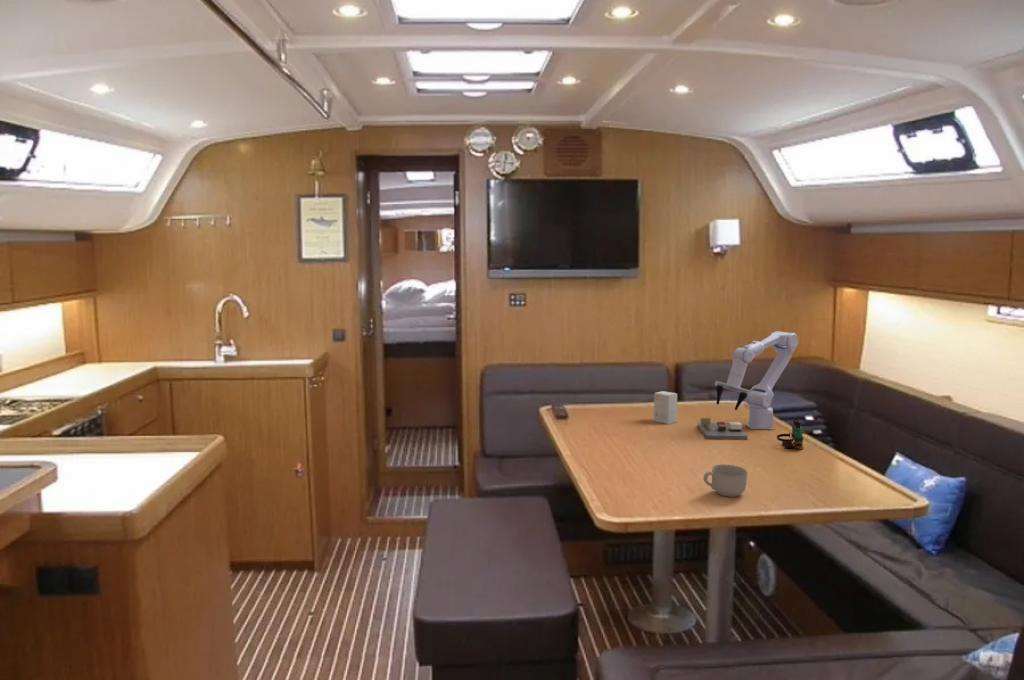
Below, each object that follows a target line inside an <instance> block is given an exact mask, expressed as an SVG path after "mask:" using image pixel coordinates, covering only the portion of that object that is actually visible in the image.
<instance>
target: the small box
mask: <svg viewBox="0 0 1024 680" xmlns="http://www.w3.org/2000/svg"><path fill="white" fill-rule="evenodd" d="M653 400H654V401H653V402H654V403H653V405H654V406H653V407H654V408H653V409H654V413H653V422H657V423H660V424H661V423H662V424H665V425H671V424H675V423H677V422H678V393H676V392H672V391H671V392H670V391H665V390H664V391H663V390H662V391H658V392H654V398H653Z"/></svg>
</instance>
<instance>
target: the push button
mask: <svg viewBox="0 0 1024 680" xmlns="http://www.w3.org/2000/svg"><path fill="white" fill-rule="evenodd" d="M728 423H729V428H730V429H742V430H743V424H742V423H741V422H740V421H728Z"/></svg>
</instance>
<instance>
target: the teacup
mask: <svg viewBox="0 0 1024 680" xmlns="http://www.w3.org/2000/svg"><path fill="white" fill-rule="evenodd" d="M711 470H712V471H706V472H705V473H704V474H703V481H704V483H705V484H706V485H707V486H709V487H711V489H712V490H714V491H715V492H716V493H717V494H719V495H720V496H722V497H728V498H729V497H730V498H735V497H739V496H740V495H741V494H743V493H744V492H745V490H746V487H747V479H748V475H749V474H748V470H747V469H746V468H744V467H741V466H738V465H734V464H727V463H726V464H724V463H723V464H722V463H721V464H715V465H713V466H712V467H711ZM709 476H711V482H709V481H708V478H709Z"/></svg>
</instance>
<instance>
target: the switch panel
mask: <svg viewBox="0 0 1024 680" xmlns="http://www.w3.org/2000/svg"><path fill="white" fill-rule="evenodd" d="M724 423H725V425H726V429H719V427H718V425H717V422H710V425H700V422H697V426H698V427H697V428H699V431H700V432H702V434H703V435H704V437H705V439H706V440H741V441H742V440H748V434H746V432H745V431H743V428H742V429H730V428H729V422H724Z"/></svg>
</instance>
